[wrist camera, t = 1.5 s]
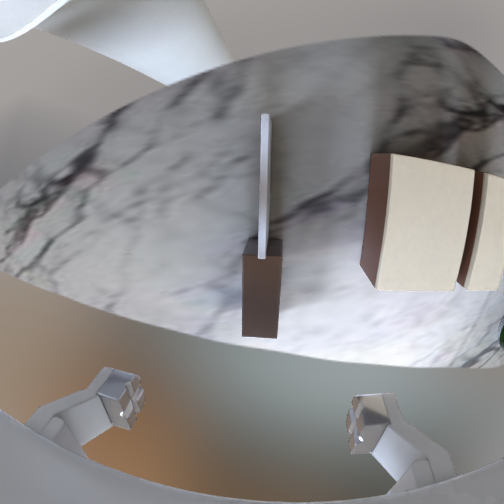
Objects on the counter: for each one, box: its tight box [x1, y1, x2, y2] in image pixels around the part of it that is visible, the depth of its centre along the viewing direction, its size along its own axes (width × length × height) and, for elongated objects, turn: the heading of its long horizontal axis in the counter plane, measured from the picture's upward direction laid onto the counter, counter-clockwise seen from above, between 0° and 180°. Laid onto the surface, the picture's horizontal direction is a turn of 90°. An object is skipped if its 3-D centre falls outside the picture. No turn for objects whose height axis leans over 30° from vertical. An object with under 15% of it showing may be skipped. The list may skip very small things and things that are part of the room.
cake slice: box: [456, 171, 504, 291], centre depth 15 cm, size 8×3×4 cm, turn 179°
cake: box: [360, 153, 475, 291], centre depth 16 cm, size 8×6×4 cm
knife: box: [242, 113, 282, 339], centre depth 17 cm, size 13×2×4 cm, turn 179°
